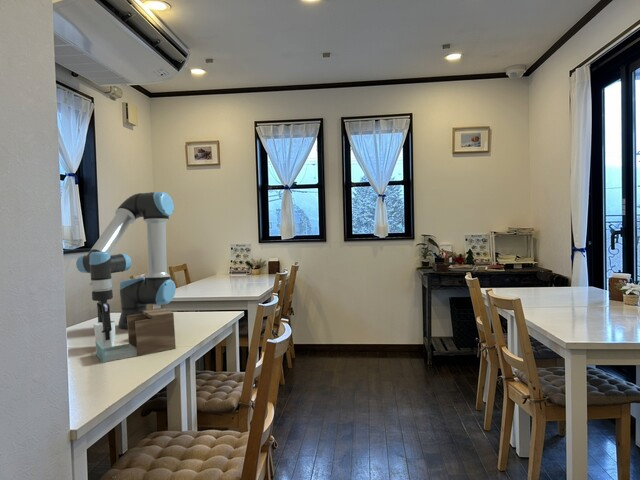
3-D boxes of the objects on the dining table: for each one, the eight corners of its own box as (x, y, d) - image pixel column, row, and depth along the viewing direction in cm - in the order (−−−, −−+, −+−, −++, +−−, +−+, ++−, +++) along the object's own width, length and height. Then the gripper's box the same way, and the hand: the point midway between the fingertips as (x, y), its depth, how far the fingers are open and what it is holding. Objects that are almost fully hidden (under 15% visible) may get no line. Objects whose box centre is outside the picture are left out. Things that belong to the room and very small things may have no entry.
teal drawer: (96, 354, 175) (95, 341, 174) (133, 347, 182) (132, 335, 182) (103, 363, 163) (102, 349, 163) (142, 355, 171) (141, 342, 170)
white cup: (108, 350, 180) (106, 325, 180) (90, 350, 182) (89, 325, 181) (120, 344, 188) (119, 320, 187) (103, 344, 189) (102, 320, 189)
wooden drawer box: (129, 348, 182) (126, 312, 181) (164, 341, 190) (162, 307, 189) (138, 356, 169) (135, 318, 169) (175, 348, 177) (173, 312, 177)
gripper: (87, 288, 190) (91, 342, 191) (95, 293, 173) (100, 352, 174) (107, 286, 194) (111, 339, 195) (117, 291, 177) (121, 349, 178)
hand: (105, 345), depth 185 cm, fingers closed on white cup, 7 cm apart
